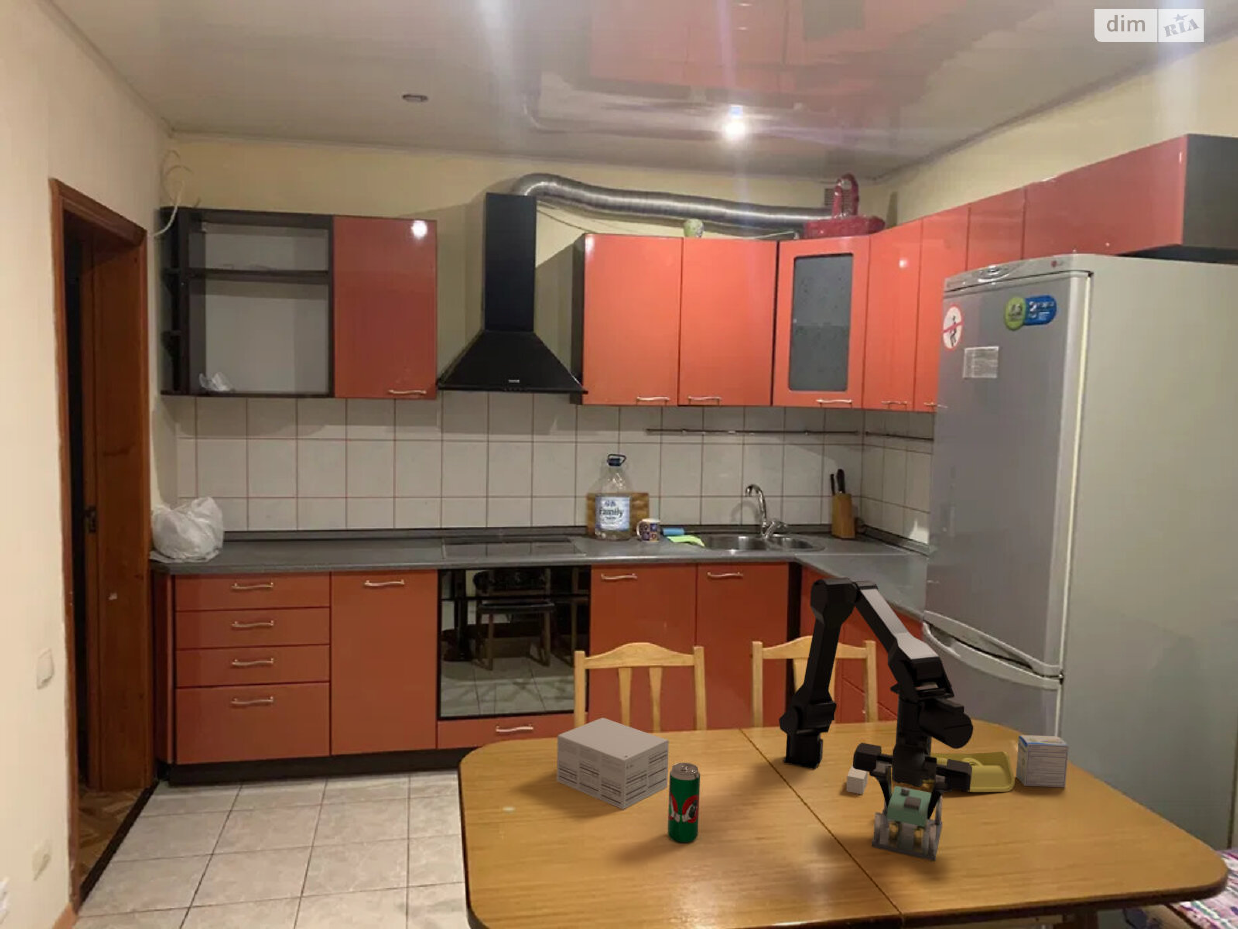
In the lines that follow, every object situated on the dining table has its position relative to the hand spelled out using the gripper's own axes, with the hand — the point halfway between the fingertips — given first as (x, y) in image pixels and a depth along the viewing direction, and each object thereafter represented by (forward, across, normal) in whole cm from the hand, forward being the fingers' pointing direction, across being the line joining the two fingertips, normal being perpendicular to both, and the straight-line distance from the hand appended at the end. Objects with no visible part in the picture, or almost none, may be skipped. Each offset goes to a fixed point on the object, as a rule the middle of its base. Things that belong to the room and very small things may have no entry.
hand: (908, 814), depth 154 cm
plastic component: (+4, +5, +27) cm, 28 cm away
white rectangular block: (+4, -11, +15) cm, 19 cm away
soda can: (+4, -34, -18) cm, 39 cm away
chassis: (+4, 0, 0) cm, 4 cm away
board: (-1, 0, 0) cm, 1 cm away
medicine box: (+4, +21, +34) cm, 40 cm away
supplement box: (+4, -53, -5) cm, 53 cm away
